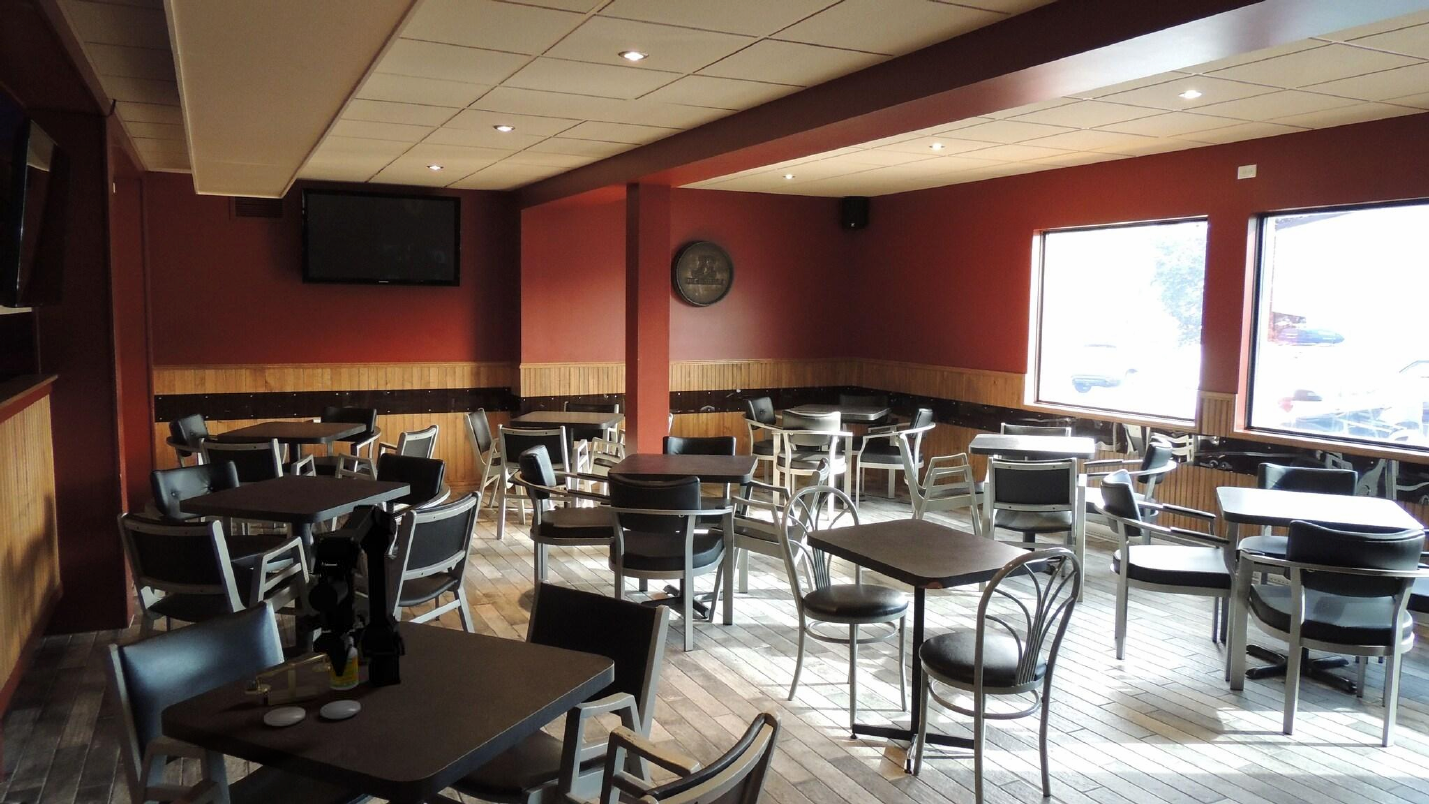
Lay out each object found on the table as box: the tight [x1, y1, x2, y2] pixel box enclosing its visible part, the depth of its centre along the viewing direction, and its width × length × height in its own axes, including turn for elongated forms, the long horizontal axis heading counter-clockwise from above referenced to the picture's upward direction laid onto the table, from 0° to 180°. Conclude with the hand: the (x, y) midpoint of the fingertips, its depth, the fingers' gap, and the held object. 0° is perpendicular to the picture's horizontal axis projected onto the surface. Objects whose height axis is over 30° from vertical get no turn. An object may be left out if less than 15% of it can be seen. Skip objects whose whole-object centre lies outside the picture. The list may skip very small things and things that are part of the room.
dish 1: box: [263, 706, 306, 727], centre depth 213 cm, size 8×8×1 cm
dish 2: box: [320, 699, 361, 720], centre depth 216 cm, size 8×8×1 cm
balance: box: [244, 653, 330, 706], centre depth 225 cm, size 19×6×9 cm, turn 115°
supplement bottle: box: [328, 637, 359, 691], centre depth 206 cm, size 5×5×10 cm
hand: (343, 671), depth 206 cm, fingers closed on supplement bottle, 5 cm apart
